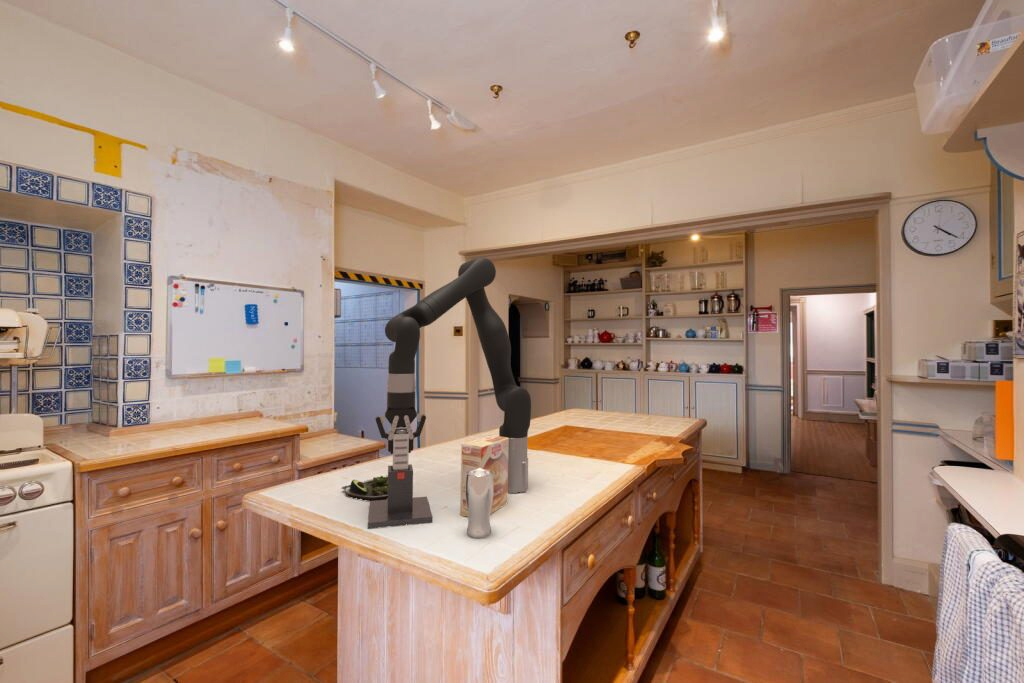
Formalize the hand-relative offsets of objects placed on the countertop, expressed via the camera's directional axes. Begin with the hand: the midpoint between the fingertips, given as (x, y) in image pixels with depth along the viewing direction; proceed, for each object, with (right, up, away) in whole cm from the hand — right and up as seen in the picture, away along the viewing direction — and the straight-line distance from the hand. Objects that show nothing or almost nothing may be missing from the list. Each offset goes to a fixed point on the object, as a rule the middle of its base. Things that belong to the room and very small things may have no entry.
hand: (400, 452), depth 121 cm
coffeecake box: (+23, -17, +4) cm, 29 cm away
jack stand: (0, -17, 0) cm, 17 cm away
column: (0, -15, 0) cm, 15 cm away
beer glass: (+22, -17, -12) cm, 30 cm away
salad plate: (-13, -17, +18) cm, 28 cm away
